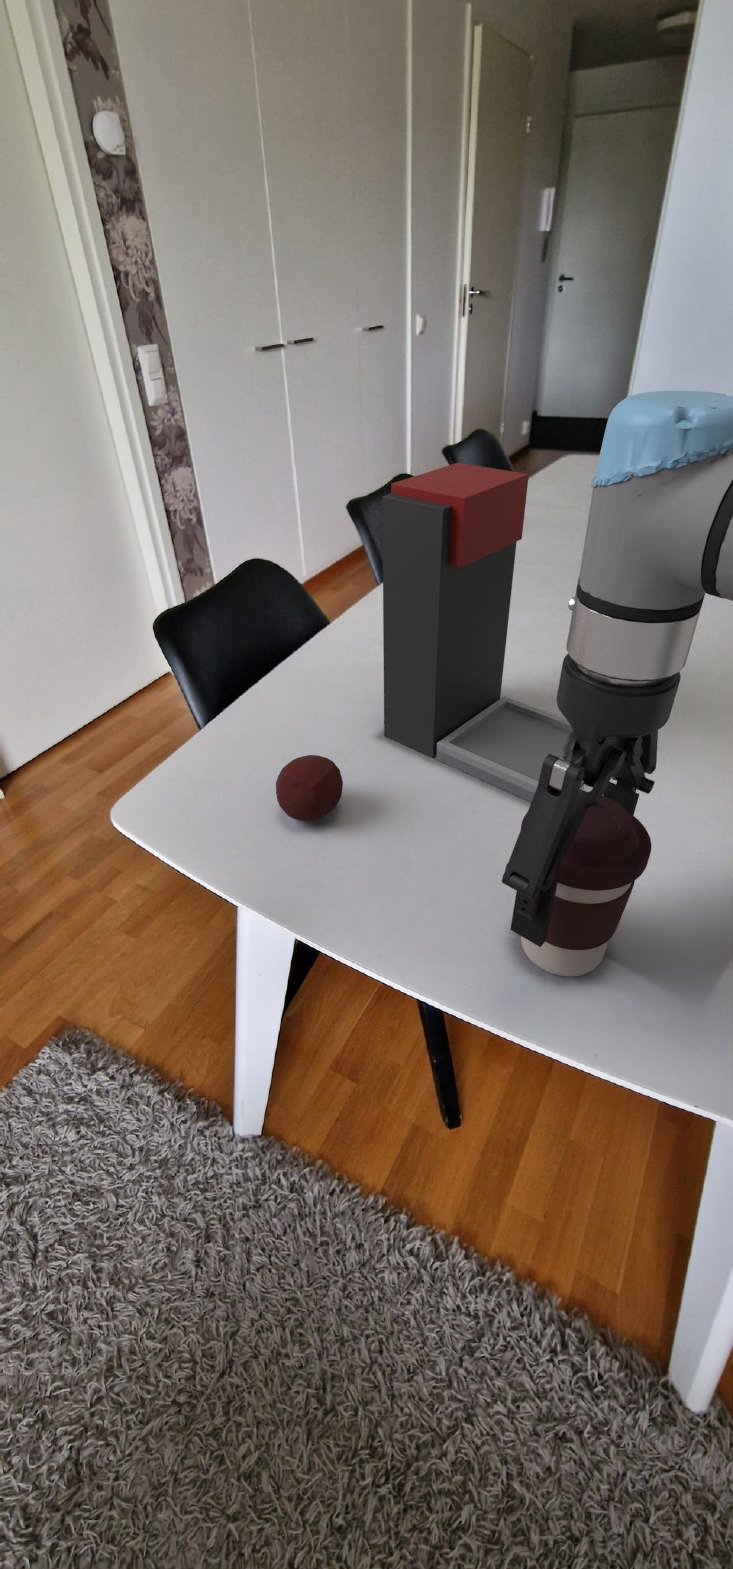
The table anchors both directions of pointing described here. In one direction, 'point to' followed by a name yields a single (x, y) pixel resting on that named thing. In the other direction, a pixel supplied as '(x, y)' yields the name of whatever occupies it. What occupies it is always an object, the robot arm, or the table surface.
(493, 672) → the coffee machine
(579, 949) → the coffee cup
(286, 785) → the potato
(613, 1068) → the table surface
